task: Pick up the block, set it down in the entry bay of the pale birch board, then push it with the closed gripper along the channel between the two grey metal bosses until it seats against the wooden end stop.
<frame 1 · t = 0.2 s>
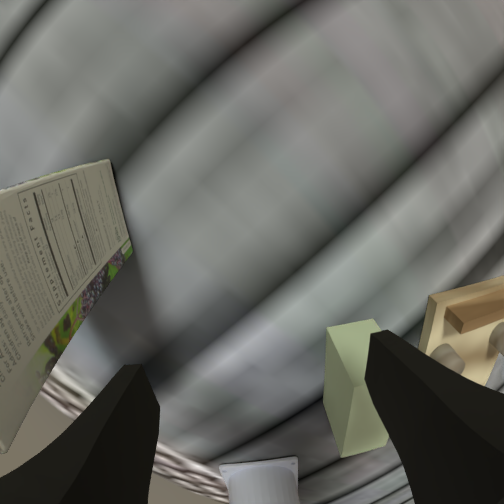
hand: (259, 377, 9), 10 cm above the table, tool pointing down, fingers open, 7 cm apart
board: (457, 356, 24), on the table
printed cardboard box: (82, 212, 17), on the table
block: (346, 364, 22), on the table
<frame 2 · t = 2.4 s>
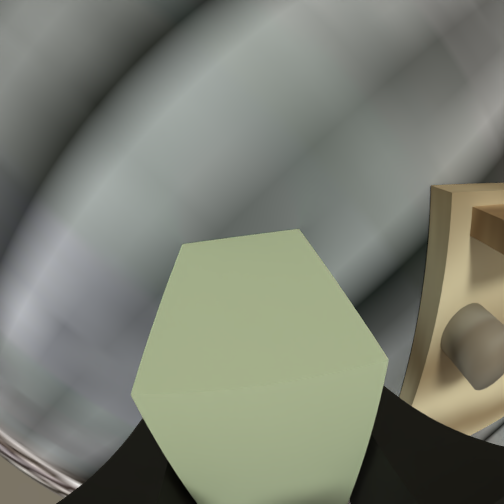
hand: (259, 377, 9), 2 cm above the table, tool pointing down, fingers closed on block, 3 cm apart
board: (490, 338, 12), on the table
block: (255, 344, 11), on the table, touching gripper
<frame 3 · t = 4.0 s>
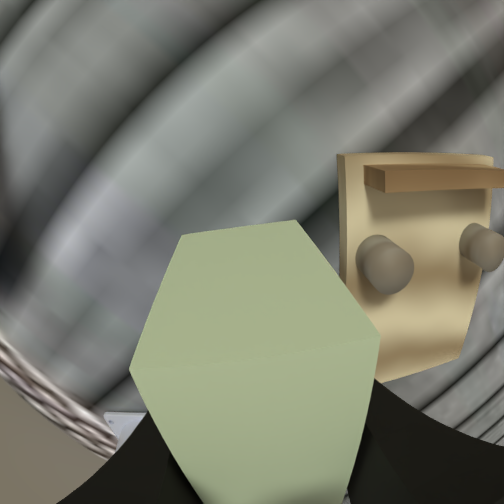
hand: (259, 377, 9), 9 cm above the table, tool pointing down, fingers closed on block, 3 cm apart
board: (415, 276, 19), on the table
block: (253, 335, 11), point 7 cm above the table, touching gripper
when the fingers open (4 cm above the table, at t = 6.0 s): block stays where it is, resting on board.
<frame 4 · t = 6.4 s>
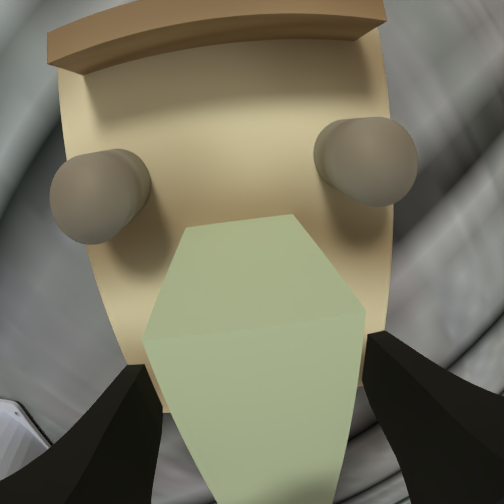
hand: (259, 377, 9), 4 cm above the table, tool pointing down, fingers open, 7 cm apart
board: (239, 230, 12), on the table
block: (252, 324, 12), point 1 cm above the table, touching board
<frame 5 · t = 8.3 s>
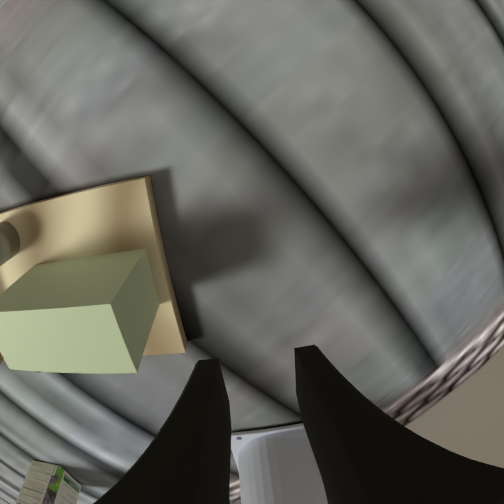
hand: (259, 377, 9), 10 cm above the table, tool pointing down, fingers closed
board: (58, 281, 18), on the table
printed cardboard box: (56, 471, 28), on the table
block: (92, 284, 17), point 1 cm above the table, touching board
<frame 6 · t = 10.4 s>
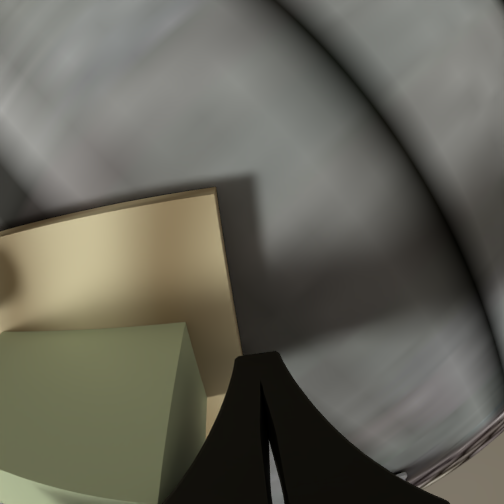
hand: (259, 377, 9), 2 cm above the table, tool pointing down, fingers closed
board: (56, 350, 11), on the table
block: (93, 368, 10), point 1 cm above the table, touching gripper
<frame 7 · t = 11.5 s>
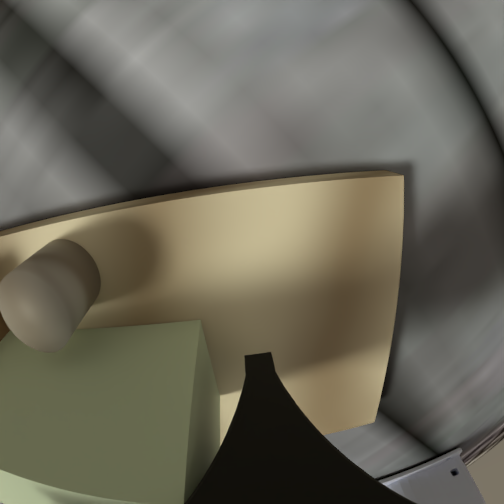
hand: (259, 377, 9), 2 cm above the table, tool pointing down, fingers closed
board: (173, 345, 11), on the table
block: (104, 367, 10), point 1 cm above the table, touching board, gripper
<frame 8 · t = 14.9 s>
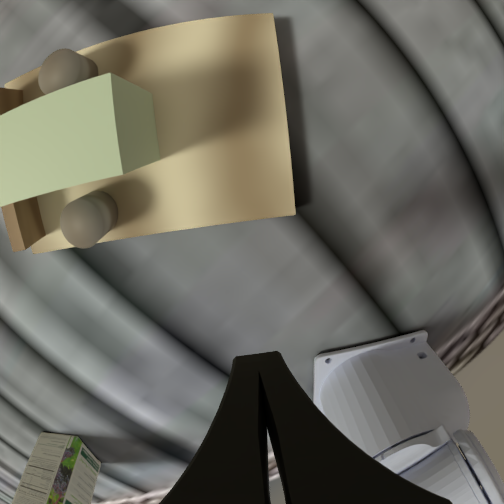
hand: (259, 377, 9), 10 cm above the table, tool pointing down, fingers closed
board: (134, 133, 15), on the table
printed cardboard box: (71, 446, 25), on the table
block: (85, 142, 14), point 1 cm above the table, touching board
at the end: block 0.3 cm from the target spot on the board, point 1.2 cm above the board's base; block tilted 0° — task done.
